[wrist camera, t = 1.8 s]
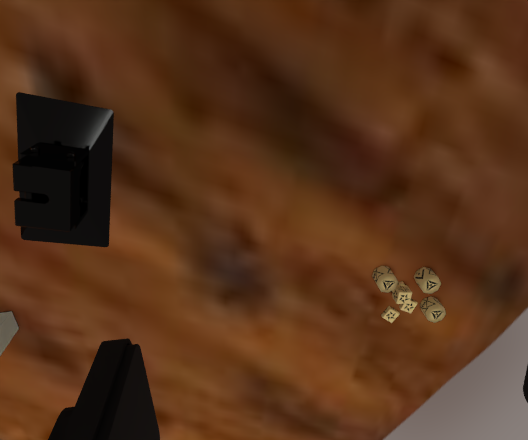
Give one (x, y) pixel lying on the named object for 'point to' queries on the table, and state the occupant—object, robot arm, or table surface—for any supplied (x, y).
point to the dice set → (410, 293)
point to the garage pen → (7, 329)
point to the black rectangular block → (63, 171)
